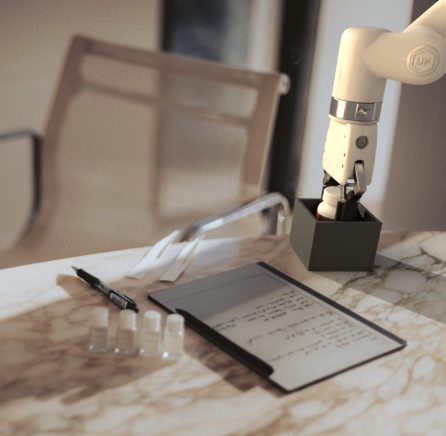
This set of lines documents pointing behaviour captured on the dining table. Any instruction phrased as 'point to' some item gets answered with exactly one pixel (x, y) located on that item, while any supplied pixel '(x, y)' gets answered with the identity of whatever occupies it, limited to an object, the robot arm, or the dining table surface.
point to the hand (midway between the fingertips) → (336, 215)
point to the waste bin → (334, 239)
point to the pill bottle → (329, 204)
